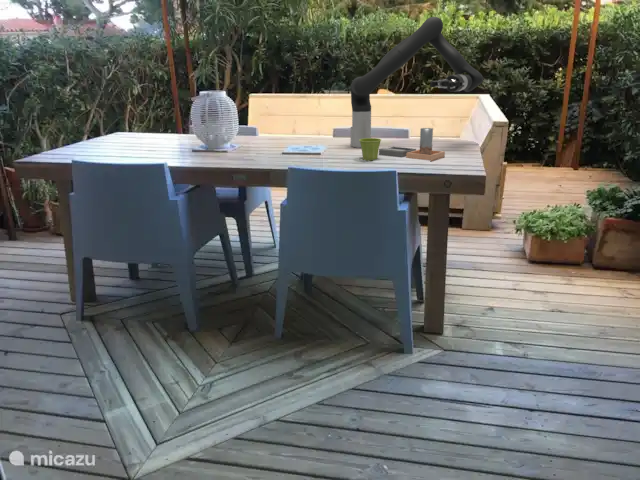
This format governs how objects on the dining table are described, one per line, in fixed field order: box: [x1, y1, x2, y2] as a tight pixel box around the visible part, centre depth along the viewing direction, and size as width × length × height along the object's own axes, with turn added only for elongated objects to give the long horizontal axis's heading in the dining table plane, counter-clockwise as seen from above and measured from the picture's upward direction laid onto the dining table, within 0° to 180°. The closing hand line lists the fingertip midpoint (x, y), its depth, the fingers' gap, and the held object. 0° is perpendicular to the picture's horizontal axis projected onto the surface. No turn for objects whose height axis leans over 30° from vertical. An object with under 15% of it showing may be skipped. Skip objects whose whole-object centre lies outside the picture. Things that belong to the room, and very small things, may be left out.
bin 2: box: [405, 148, 446, 163], centre depth 235 cm, size 12×12×3 cm
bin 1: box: [378, 146, 417, 158], centre depth 244 cm, size 12×12×3 cm
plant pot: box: [359, 137, 382, 162], centre depth 234 cm, size 9×9×9 cm
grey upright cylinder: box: [419, 127, 434, 155], centre depth 234 cm, size 5×5×12 cm
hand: (439, 84), depth 238 cm, fingers open, 8 cm apart
